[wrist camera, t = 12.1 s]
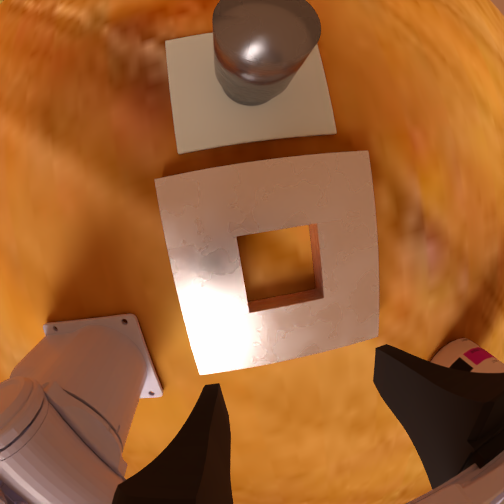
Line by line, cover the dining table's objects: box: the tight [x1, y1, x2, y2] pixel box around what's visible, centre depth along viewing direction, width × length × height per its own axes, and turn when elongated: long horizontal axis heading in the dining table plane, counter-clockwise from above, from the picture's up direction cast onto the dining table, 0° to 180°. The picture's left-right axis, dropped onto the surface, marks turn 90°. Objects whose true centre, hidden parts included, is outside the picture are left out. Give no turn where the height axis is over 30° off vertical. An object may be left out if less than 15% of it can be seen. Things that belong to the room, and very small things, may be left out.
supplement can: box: [430, 338, 504, 373], centre depth 18 cm, size 8×8×15 cm
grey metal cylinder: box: [213, 0, 321, 106], centre depth 13 cm, size 5×5×8 cm
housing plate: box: [154, 151, 379, 375], centre depth 20 cm, size 14×14×2 cm
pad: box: [165, 33, 337, 154], centre depth 18 cm, size 11×9×1 cm
